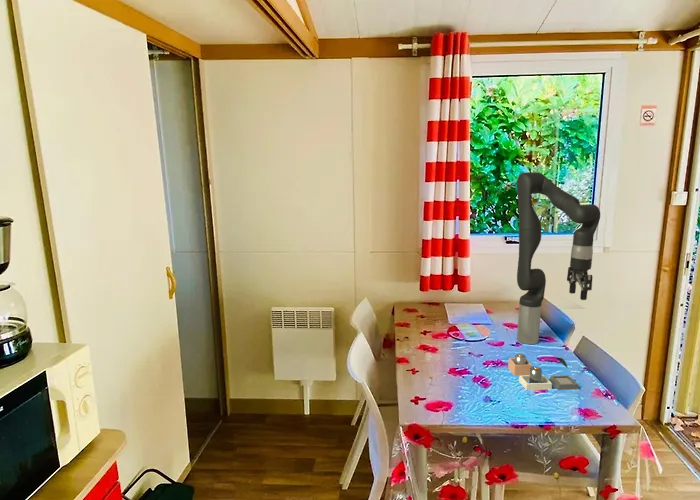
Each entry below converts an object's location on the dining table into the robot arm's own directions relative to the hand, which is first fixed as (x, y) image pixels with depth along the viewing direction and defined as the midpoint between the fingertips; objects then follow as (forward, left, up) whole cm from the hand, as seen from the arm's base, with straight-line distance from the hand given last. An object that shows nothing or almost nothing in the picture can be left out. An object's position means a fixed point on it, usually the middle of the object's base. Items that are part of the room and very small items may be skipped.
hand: (577, 296), depth 193 cm
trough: (+19, -24, -28) cm, 41 cm away
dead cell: (+8, -25, -27) cm, 38 cm away
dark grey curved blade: (+3, -8, -29) cm, 30 cm away
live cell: (+19, -24, -28) cm, 41 cm away
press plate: (+19, -13, -27) cm, 36 cm away
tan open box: (+8, -25, -28) cm, 38 cm away
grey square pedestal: (+20, -13, -28) cm, 37 cm away
